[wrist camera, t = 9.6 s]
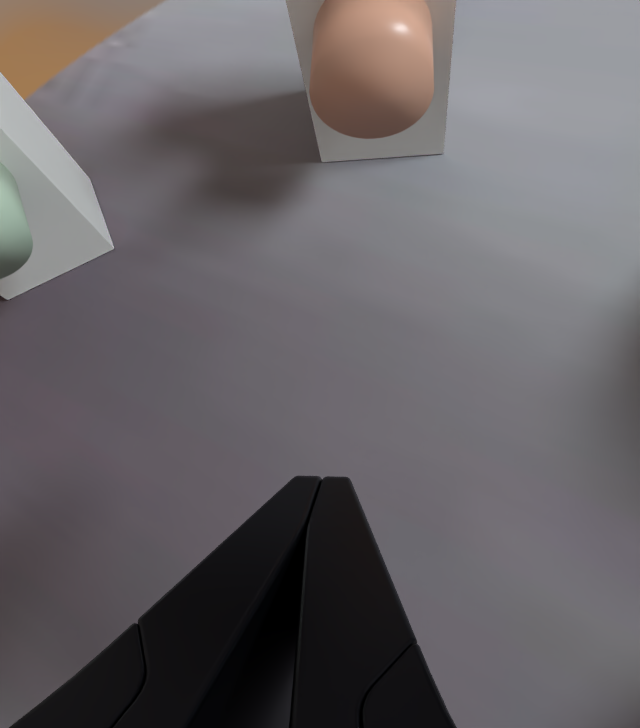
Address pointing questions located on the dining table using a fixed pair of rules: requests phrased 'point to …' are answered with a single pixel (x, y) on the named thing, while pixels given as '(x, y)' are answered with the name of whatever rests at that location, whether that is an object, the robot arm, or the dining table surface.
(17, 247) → the sage button
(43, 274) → the sage button housing
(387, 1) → the terracotta button
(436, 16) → the white tall block
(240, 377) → the dining table surface
